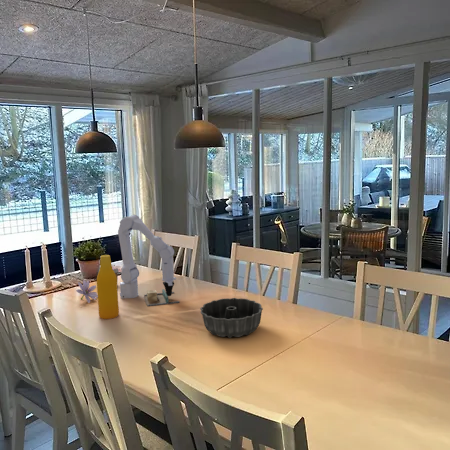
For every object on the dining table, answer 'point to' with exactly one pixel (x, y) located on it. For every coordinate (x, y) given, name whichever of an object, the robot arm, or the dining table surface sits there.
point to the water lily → (87, 291)
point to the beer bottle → (107, 289)
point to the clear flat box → (158, 298)
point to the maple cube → (152, 296)
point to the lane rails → (162, 303)
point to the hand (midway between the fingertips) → (168, 295)
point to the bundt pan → (231, 316)
